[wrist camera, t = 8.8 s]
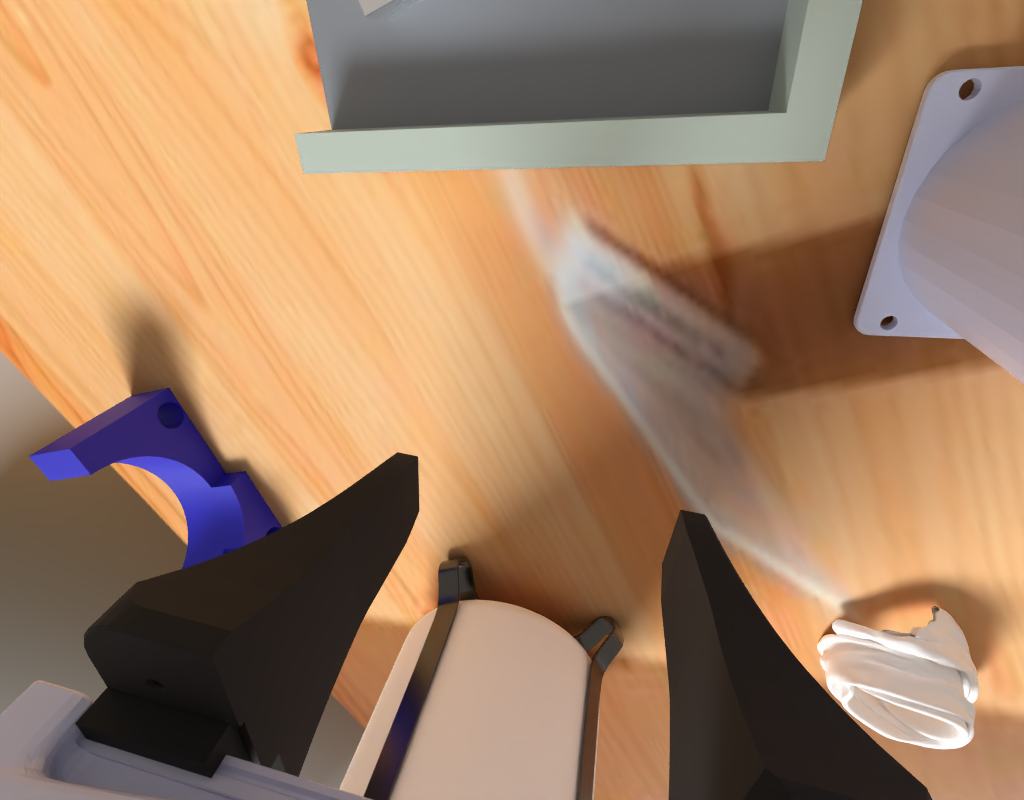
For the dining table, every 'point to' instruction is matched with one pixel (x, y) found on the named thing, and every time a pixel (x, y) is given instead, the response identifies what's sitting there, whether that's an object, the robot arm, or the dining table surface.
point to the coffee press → (486, 705)
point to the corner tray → (577, 83)
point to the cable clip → (167, 470)
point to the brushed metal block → (386, 8)
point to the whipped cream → (905, 680)
